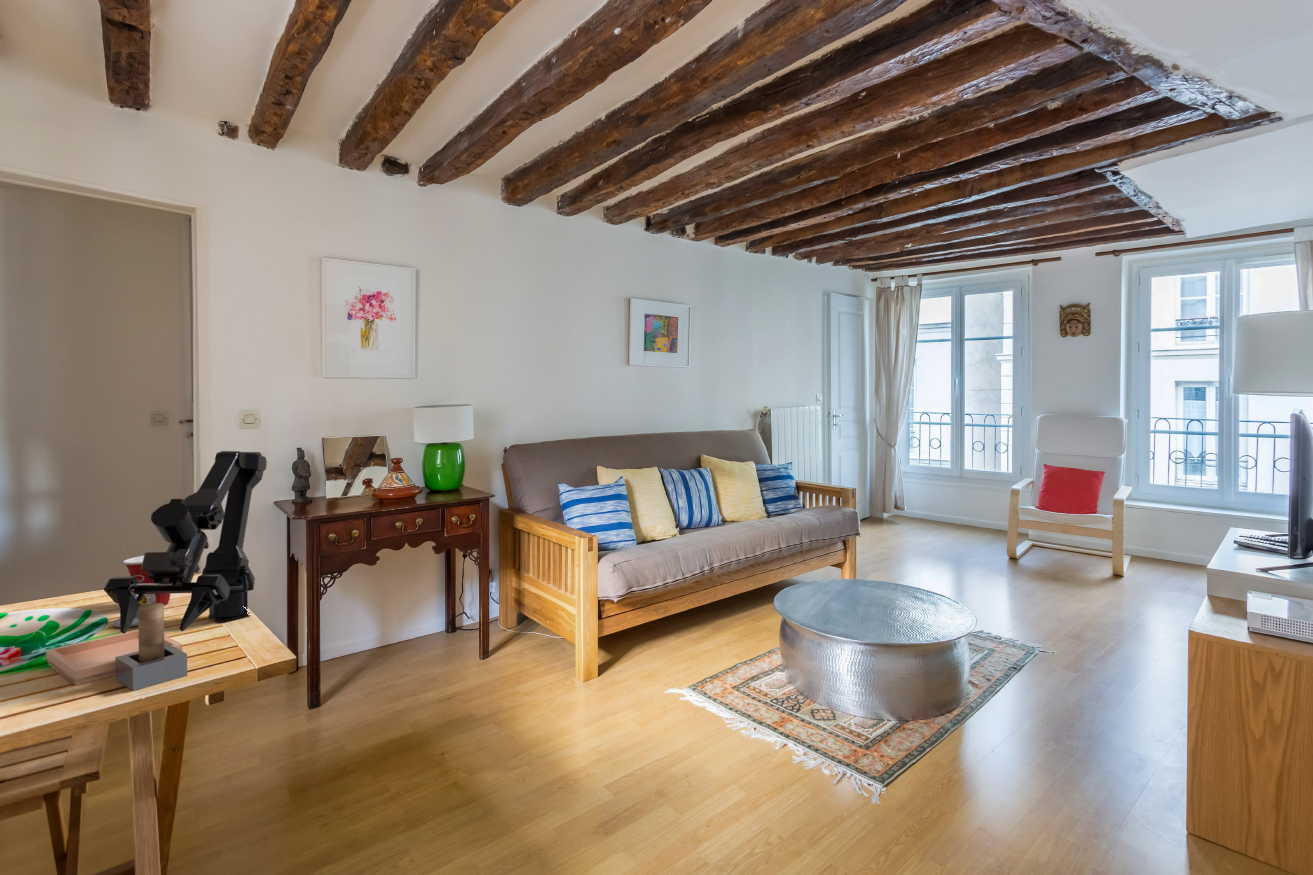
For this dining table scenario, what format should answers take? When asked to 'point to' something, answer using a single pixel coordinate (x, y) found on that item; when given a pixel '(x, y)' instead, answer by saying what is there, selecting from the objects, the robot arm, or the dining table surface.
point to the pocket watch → (150, 600)
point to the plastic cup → (135, 569)
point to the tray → (95, 656)
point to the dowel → (151, 632)
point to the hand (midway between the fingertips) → (152, 631)
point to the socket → (150, 668)
